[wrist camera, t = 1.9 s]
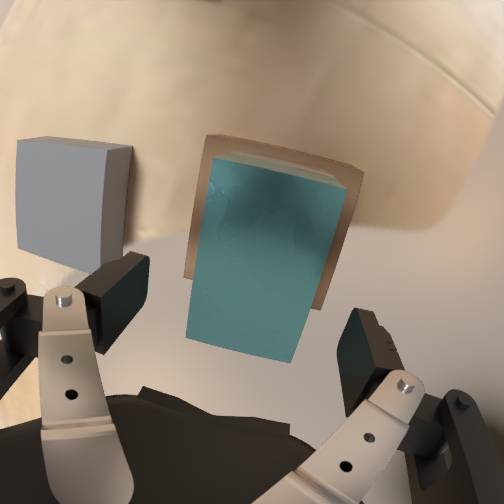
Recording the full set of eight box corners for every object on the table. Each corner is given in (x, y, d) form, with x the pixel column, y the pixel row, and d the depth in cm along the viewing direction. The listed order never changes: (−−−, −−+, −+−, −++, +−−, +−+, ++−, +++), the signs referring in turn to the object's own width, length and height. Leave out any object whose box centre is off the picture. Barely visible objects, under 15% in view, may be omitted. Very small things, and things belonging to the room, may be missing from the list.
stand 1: (46, 136, 24) (17, 140, 20) (132, 146, 23) (107, 150, 20) (43, 234, 28) (18, 248, 24) (122, 258, 27) (100, 276, 23)
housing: (239, 149, 19) (213, 157, 12) (327, 170, 19) (347, 189, 12) (214, 279, 22) (185, 337, 16) (291, 297, 22) (290, 363, 16)
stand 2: (219, 134, 23) (206, 134, 19) (352, 165, 22) (364, 172, 18) (198, 256, 26) (183, 277, 23) (316, 285, 26) (320, 310, 22)
